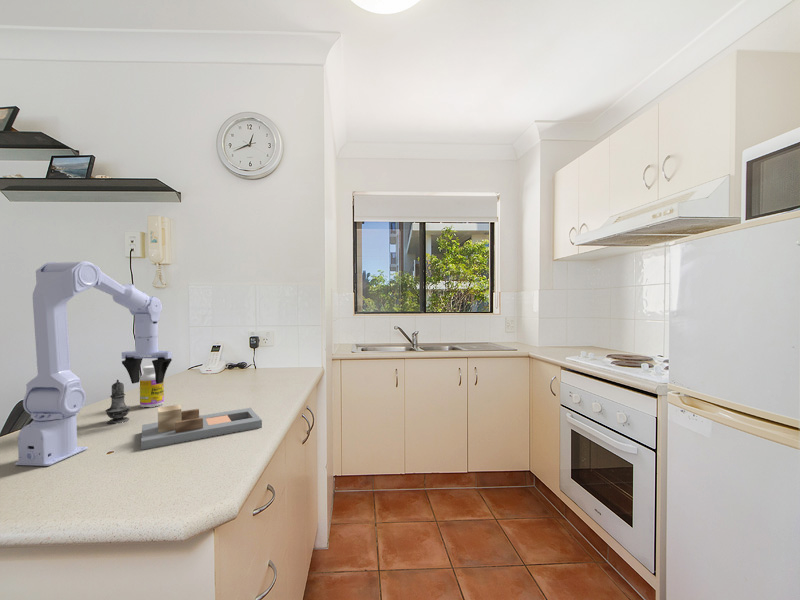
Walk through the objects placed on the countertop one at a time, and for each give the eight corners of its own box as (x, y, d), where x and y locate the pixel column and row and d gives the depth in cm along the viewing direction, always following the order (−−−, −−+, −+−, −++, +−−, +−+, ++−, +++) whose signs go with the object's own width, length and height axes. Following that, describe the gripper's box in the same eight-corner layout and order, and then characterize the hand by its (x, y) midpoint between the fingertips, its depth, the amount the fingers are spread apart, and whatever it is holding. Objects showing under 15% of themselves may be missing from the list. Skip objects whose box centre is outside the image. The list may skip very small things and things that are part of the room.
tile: (208, 432, 101) (208, 425, 101) (205, 425, 107) (205, 418, 107) (231, 428, 104) (231, 421, 104) (227, 421, 110) (227, 415, 110)
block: (158, 432, 96) (158, 412, 96) (158, 427, 100) (157, 407, 100) (181, 428, 98) (181, 409, 98) (180, 423, 103) (180, 404, 103)
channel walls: (175, 432, 95) (175, 422, 95) (173, 421, 104) (173, 412, 104) (203, 428, 99) (202, 418, 99) (198, 417, 107) (198, 408, 107)
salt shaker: (135, 418, 114) (135, 377, 114) (119, 424, 109) (118, 381, 109) (117, 417, 115) (116, 377, 115) (100, 424, 109) (99, 381, 109)
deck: (141, 449, 90) (141, 441, 90) (142, 432, 102) (142, 424, 102) (261, 427, 105) (261, 419, 105) (250, 414, 117) (250, 407, 117)
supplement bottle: (150, 409, 124) (149, 368, 124) (135, 407, 126) (134, 367, 126) (168, 403, 130) (168, 364, 130) (153, 402, 132) (153, 364, 132)
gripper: (178, 335, 118) (179, 380, 118) (134, 335, 120) (135, 379, 120) (162, 338, 111) (163, 385, 111) (115, 338, 113) (116, 385, 113)
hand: (147, 382), depth 115 cm, fingers open, 7 cm apart
